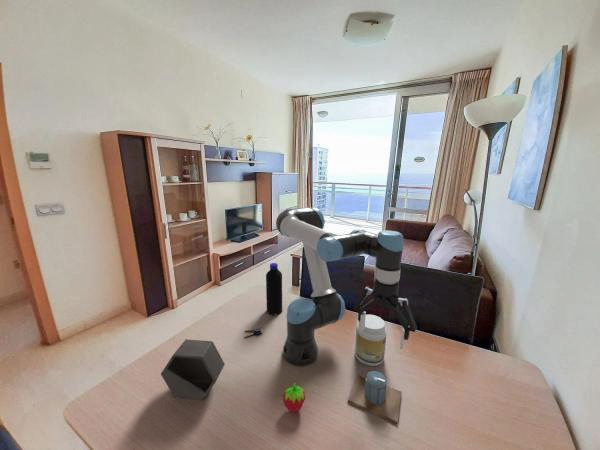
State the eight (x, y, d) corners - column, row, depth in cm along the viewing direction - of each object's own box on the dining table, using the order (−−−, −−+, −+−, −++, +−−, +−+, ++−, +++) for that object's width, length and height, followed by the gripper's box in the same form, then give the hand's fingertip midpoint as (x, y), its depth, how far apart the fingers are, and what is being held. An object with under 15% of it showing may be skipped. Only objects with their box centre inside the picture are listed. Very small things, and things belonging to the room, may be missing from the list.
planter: (153, 384, 84) (180, 343, 79) (167, 367, 91) (192, 328, 86) (195, 410, 84) (223, 370, 80) (205, 390, 92) (232, 353, 87)
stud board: (347, 402, 83) (348, 388, 82) (356, 376, 94) (357, 364, 92) (397, 424, 76) (399, 410, 75) (401, 394, 86) (402, 381, 85)
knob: (363, 399, 83) (364, 381, 82) (367, 384, 89) (369, 367, 87) (383, 407, 80) (385, 389, 79) (386, 392, 86) (388, 374, 84)
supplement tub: (388, 366, 98) (392, 330, 95) (359, 368, 98) (362, 331, 94) (377, 345, 110) (380, 312, 107) (351, 346, 109) (353, 313, 106)
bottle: (279, 316, 132) (279, 268, 126) (264, 314, 134) (263, 266, 128) (284, 307, 141) (283, 262, 135) (269, 305, 142) (268, 260, 136)
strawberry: (282, 402, 83) (282, 377, 81) (303, 400, 84) (304, 376, 81) (283, 419, 77) (283, 393, 75) (306, 417, 78) (306, 391, 76)
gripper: (432, 286, 73) (424, 347, 77) (355, 266, 87) (352, 318, 92) (427, 296, 67) (418, 361, 71) (345, 273, 82) (342, 328, 86)
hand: (381, 337), depth 82 cm, fingers open, 13 cm apart
